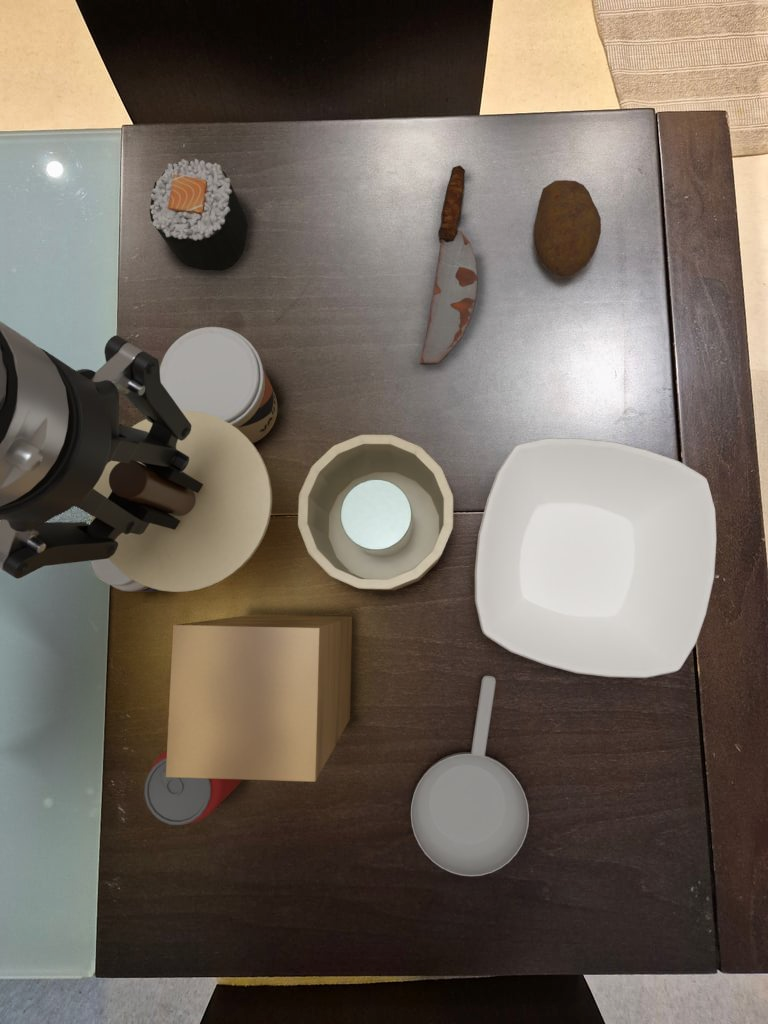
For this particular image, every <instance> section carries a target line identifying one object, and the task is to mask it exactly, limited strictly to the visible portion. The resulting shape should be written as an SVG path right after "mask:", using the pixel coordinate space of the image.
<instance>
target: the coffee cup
mask: <svg viewBox="0 0 768 1024" xmlns="http://www.w3.org/2000/svg"><path fill="white" fill-rule="evenodd" d="M159 370H160V380H161V383H162V385H163V386H164V388H165V389H166V390H167V392H168V393H169V395H170V396H171V397H172V399H173V400H174V402H175V403H176V404H177V406H178V407H179V408H180V410H181V411H196V412H201V413H206V414H209V415H212V416H215V417H218V418H220V419H222V420H224V421H226V422H228V423H230V424H231V425H232V426H234V427H235V428H237V429H238V430H239V431H240V432H242V433H243V434H244V435H245V436H246V437H247V438H248V439H249V440H250V441H251V443H252V444H254V443H257V442H258V441H260V440H262V439H263V438H265V437H266V436H267V435H268V433H269V432H270V431H271V430H272V428H273V427H274V424H275V423H276V419H277V415H278V401H277V397H276V393H275V391H274V388H273V386H272V384H271V381H270V380H269V377H268V375H267V373H266V370H265V368H264V366H263V362H262V360H261V358H260V355H259V353H258V352H257V350H256V348H255V347H254V346H253V344H252V343H251V342H250V341H249V340H248V339H247V338H246V337H244V336H243V335H241V334H240V333H238V332H236V331H234V330H232V329H229V328H225V327H220V326H207V327H206V326H205V327H200V328H197V329H193V330H190V331H189V332H187V333H185V334H183V335H181V336H180V337H178V338H177V339H176V340H175V341H174V342H173V343H172V344H171V345H170V347H169V348H168V349H167V351H166V352H165V354H164V356H163V358H162V360H161V363H160V365H159Z"/></svg>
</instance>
